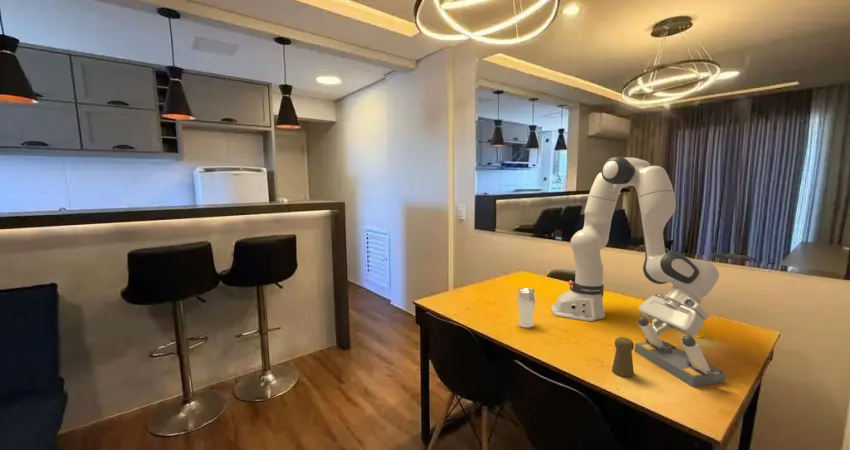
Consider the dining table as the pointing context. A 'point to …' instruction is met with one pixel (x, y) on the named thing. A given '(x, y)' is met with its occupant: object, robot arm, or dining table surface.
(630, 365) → the brown pawn
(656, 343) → the lever
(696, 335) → the watch
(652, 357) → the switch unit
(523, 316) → the beer glass
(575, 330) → the dining table surface
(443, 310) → the dining table surface
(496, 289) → the dining table surface
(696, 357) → the lever
